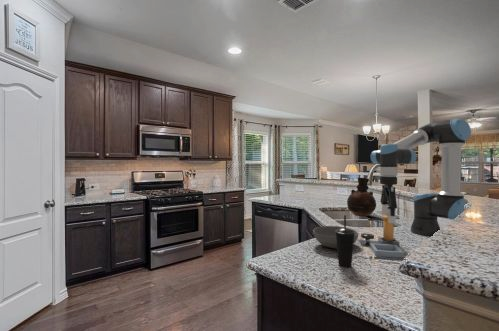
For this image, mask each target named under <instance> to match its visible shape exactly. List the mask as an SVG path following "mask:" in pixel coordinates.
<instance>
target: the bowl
mask: <svg viewBox="0 0 499 331" xmlns="http://www.w3.org/2000/svg"><path fill="white" fill-rule="evenodd" d="M340 228H344V226H336V225H335V226H334V225H331V226H330V225H329V226H328V225H324V226H317V227H315V228H313V230H312V233H313V236H314V238H315V239H316V241H317V242H318V243H320V245H322V246H323V247H327V248H329V249H336V250H337V240H336V233H335V230H337V229H340ZM347 228H348V229H351V230H353V231H355V234H354V244H355V243H356V242H357V241H358V240H359V239H358V238H359V232H358V231H357V230H355V229H352V228H349V227H347Z"/></svg>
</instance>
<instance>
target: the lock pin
mask: <svg viewBox="0 0 499 331" xmlns="http://www.w3.org/2000/svg"><path fill="white" fill-rule="evenodd" d="M388 217H389V214H388V215H383V216H382V217H381V219H382V220H383V222H382V223H383V226H382V228H383V234H382V235H383V236H382V237H383V241H394V238H395V237H394V232H395V231H394V226H395V225H394V224H395V223H388Z"/></svg>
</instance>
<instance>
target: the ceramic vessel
mask: <svg viewBox="0 0 499 331" xmlns="http://www.w3.org/2000/svg"><path fill="white" fill-rule="evenodd" d="M369 181H370V178H367V177H358V178H357V183H358V184H357V186H356V189H357V190H355V189H352V190H351V192H350V194H349V196H348V198H347V200H346V204H347V207H348V208H347V209H348V210H349V211H350V212H351V214H353V216H355V217H368V216H370V215H372V213H374V211H375V210H376V208H377V201H376V198H375V197H374V195H373V194H374V192H373V191H368V190H369V186H368V183H369Z"/></svg>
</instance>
